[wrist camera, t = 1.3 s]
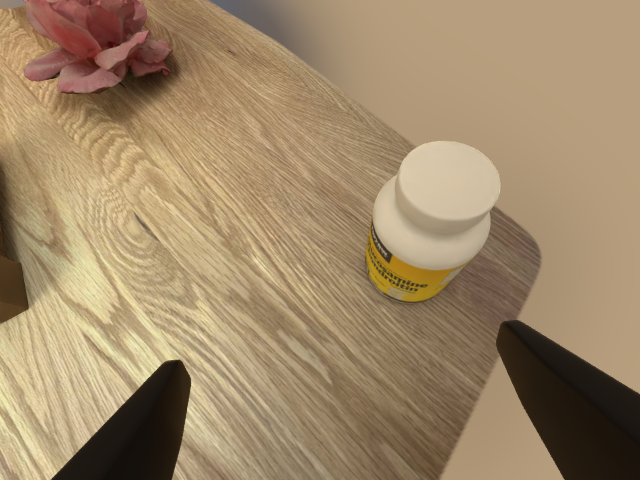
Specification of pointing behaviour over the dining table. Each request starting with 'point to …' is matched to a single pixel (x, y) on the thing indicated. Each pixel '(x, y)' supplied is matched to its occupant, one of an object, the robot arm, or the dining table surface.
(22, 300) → the walnut leg
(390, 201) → the pill bottle
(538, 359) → the robot arm
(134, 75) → the flower
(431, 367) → the dining table surface
